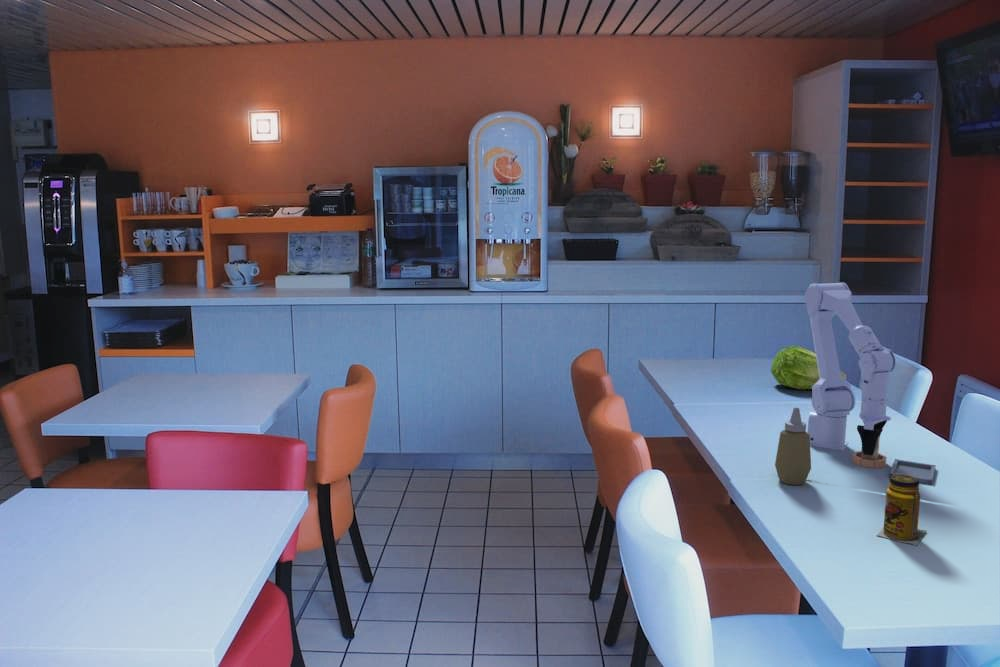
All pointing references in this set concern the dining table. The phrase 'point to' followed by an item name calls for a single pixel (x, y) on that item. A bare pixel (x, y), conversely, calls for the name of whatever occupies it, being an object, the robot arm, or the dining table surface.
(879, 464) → the terracotta octagonal bowl
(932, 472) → the slate tray
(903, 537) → the condiment
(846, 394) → the robot arm
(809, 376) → the lettuce
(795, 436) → the squeeze bottle
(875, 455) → the beech peg
